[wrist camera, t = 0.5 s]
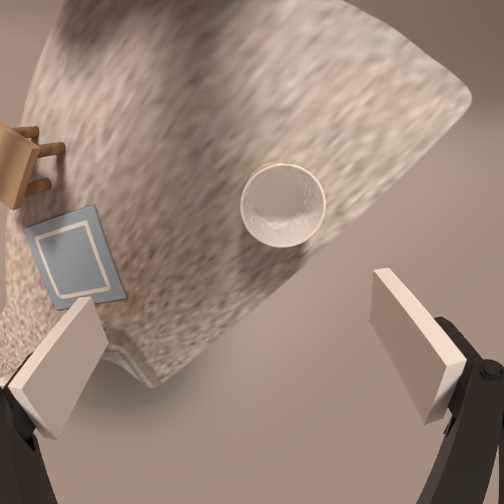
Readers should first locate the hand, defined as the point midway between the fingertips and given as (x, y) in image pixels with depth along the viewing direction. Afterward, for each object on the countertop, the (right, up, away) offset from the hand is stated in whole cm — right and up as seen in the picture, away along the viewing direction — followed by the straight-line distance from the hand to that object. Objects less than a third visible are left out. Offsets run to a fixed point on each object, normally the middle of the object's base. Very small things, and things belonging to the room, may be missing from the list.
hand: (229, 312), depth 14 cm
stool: (-29, +16, +22) cm, 39 cm away
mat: (-25, +1, +27) cm, 37 cm away
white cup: (+4, +10, +24) cm, 27 cm away
